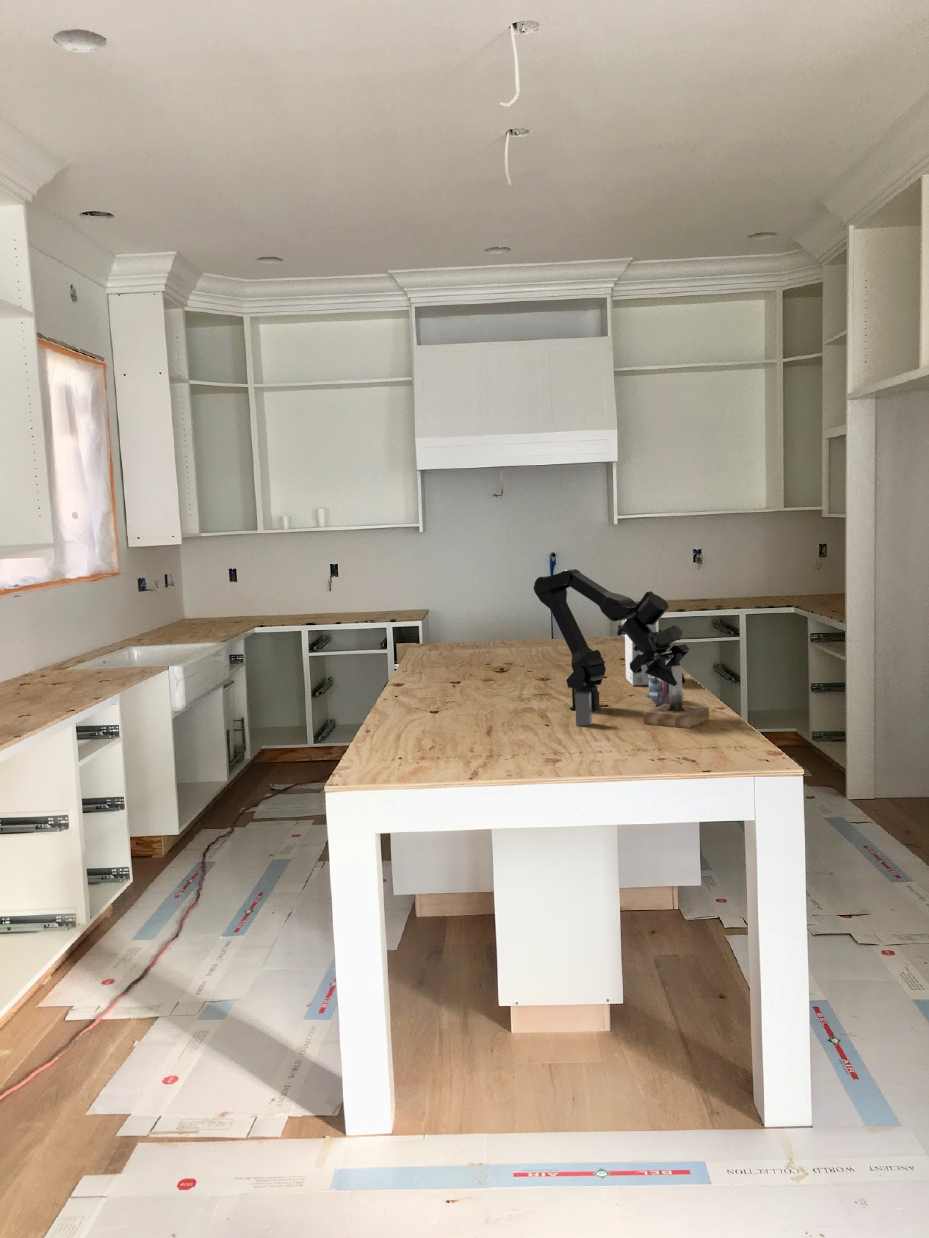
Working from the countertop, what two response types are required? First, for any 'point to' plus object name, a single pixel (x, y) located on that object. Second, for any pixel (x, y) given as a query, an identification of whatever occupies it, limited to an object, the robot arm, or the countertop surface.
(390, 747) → the countertop surface
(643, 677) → the hard drive box
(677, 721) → the bore block
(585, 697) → the square bit
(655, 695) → the brake caliper
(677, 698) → the round bit
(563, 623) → the robot arm
